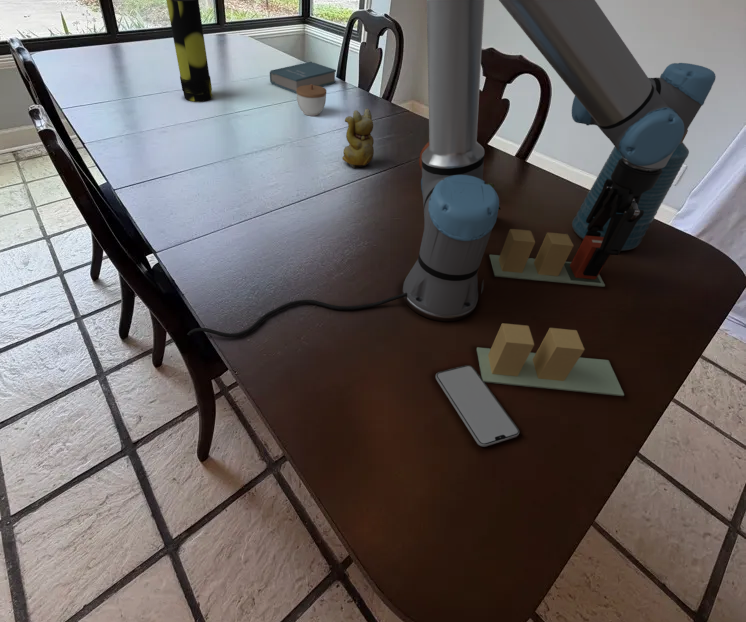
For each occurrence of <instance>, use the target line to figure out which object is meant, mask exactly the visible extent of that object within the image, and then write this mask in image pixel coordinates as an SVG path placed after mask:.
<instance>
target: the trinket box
mask: <svg viewBox="0 0 746 622" xmlns="http://www.w3.org/2000/svg"><path fill="white" fill-rule="evenodd" d="M296 92H297V94H296V101H297V102H296V103H297V105H298V107H299V110H300V111H301V112H302V113H303V114H304V115H305V116H310V117H315V116H320V114H321V112H322V111H323V110H324V109H325V106H326V101H327V89H326V88H325V87H324V86H323V87H320V86H316V85H313V84H310V85H304V86H300V87H298V88H297V89H296Z"/></svg>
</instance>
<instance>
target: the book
mask: <svg viewBox="0 0 746 622" xmlns="http://www.w3.org/2000/svg"><path fill="white" fill-rule="evenodd" d="M336 72H337V69H335V68H331V67H328V66H326V65H322V64H319V63H316V62H313V61H307V62H304V63H298V64H294V65H289V66H285V67H281V68H277V69H271V70H270V71H269V82H270V84H271V85H274V86H275V87H278V88H280V89H284V90H286V91H289V92H290V93H294V94H296V95H297V92H296V89H297V88H298V87H300V86H304V85H310V84H313V85H316V86H320V87H323V88H324V87H327V86H330V85H335V84H336V83H337V82H336V78H335V77H336Z"/></svg>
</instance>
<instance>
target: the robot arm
mask: <svg viewBox="0 0 746 622" xmlns="http://www.w3.org/2000/svg"><path fill="white" fill-rule="evenodd" d="M498 1H499V3H500V4H501V5H502V6H503V8H504V9H505V10H506V12H508V13H509V15H510V16H511V18H512V19H513V20H514V22H516V24H517V25H518V26H519V28H520V29H521V30H522V31H523V33H524V34H525V35H526V37H527V38H528V39H529V40H530V41H531V43H532V44H533V45H534V46H535V47H536V49H537V50H538V52H540V54H541V55H542V56H543V57H544V59H545V60H546V62H548V64H549V65H550V66H551V67H552V69H553V70H554V71H555V72H556V74H557V75H558V76H559V77H560V79H561V80H562V81H563V82H564V84H565V85H566V86H567V87H568V89H569V90H570V91H571V92H572V94H573V95H574V97H573V100H572V105H571V117H572V118H571V119H572V120H573V121H574V122H575V123H576V124H582V125H586V126H597V127H598V128H599V130H600V131H601V132H602V133H603V134H604V136H605V137H606V138H607V139H608V140H609V141H610V142H611V144H612V145H613V146H614V147H616V148H617V150H618V151H619V153H620V154H621V156H622V158H621V159H620V160H619V161H618V163H617V165H616V167H615V169H614V171H613V173H612V175H611V179H606V181H605V183H604V186H603V189H602V191H601V193H600V195H599V197H598V199H597V201H596V202H595V204H594V206H593V208H592V210H591V212H590V214H589V215H588V217H587V219H586V223H589V225H588V227H587V230H588V231H587V233H586V235H587V236H598V237H600V235H601V233H600V232H597V231H604V229H603V226H604V225H605V224H606V223H607V221H608V220H609V219H610V218H611V219H610V222H609V225H608V228H607V230H606V233H605V236H604V238H603V241H602V244H601V246H600V248H597V247H596V250H595V252H594V254H593V256H592V258H591V260H590V261H589V263H588V265H587V267H586V269H585V270H584V272H583V274H584V275H587V276H597V275H598V273H599V271H600V270H601V271H602V269H603V268H602V266H603V265H604V266H605V265H606V263H607V261H608V259H609V258H608V257H610V256H612V255H613V256H619V255H620V253H621V252H622V251H621V249H622V248H623V246H624V244H625V242H626V240H627V239H628V237H629V235H630V233H631V232H632V230H633V228H634V226H635V224H636V223H637V221H638V220H639V219H640V218H641V217H642V216H643V214H644V210H639V209H638V203H639V201H640V198H641V195H642V193H644V192H646V191H648V190H650V189H652V188H653V187H654V185H655V183H656V182H657V180H658V178H659V177H660V175H661V173H662V168H663V167H665V166H666V164H667V162H668V161H669V159H670V157H671V156H672V154H673V152H674V151H675V150H676V148H677V147H678V145H679V144H680V142H681V140H682V138H683V136H684V134H685V132H686V131H687V129H689V128H690V126H691V124H692V122H693V121H694V120H695V117H696V116H697V114H698V113H699V112H700V110H701V108H702V106H704V105H705V101H706V100H707V97H708V96H709V93H710V92H711V90H712V88H713V86H714V83H715V81H716V76H717V75H716V73H715V72H714V71H713V70H712V69H711V68H708V67H707V66H703V65H699V64H693V63H687V62H673V63H670V64H667V66H666V67H665V69H664V70H663V72H662V73H661V74H660V76H659V77H648V75H647V74H646V72H645V71H644V69H643V68H642V66H641V65H640V64H639V62H638V60H637V59H636V58H635V56H634V54H632V52H631V50H630V49H629V48H628V46H627V45H626V43H625V42H624V40H623V39H622V37H621V36H620V34H619V33H618V31H617V30H616V29H615V27H614V26H613V25H612V22H611V21H610V20H609V19H608V17H607V15H606V14H605V12H604V11H603V10H602V8H601V7H600V5H599V4H598V2H597V1H596V0H498ZM484 12H485V0H426V33H427V34H426V37H427V38H426V39H427V84H428V86H427V89H428V93H427V94H428V96H427V97H428V142H429V146H428V148H427V149H426V150H425V151H424V152H423V153H422V171H421V179H420V189H421V194H422V203H423V204H422V205H423V214H424V215H423V217H424V218H423V219H424V226H423V234H422V237H421V243H420V247H419V253H418V257H417V259H416V261H415V263H414V264H413V266H412V267H411V269H410V271H409V272H408V274H407V275H406V277H405V279H404V281H403V284H402V290H401V293H400V294H396V295H394V296H390V297H388V298H385V299H382V300H380V301H376V302H371V303H367V304H361V305H360V304H359V305H348V306H347V305H346V306H345V305H335V304H329V303H326V302H323V301H319V300H314V299H313V300H312V299H300V300H294V301H290V302H287V303H285V304H282V305H280V306H278V307H276V308H274V309H272V310H270V311H268V312H267V313H264V315H262V316H261V317H260V318H259V319H257V321H256V322H254V323H253V324H252V325H251V326H250V327H248V328H246V329H244V330H242V331H239V332H235V333H234V332H233V333H230V332H223V331H220V330H215V329H212V328H208V327H195V328H192V329H191V330H189V331H188V332H187V334H186V335H187V336H192V335H194V334H196V333H199V332H201V333H209V334H211V335H216V336H218V337H223V338H239V337H243V336H245V335H247V334H249V333H251V332H253V331H254V330H255V329H256V328H258V327H259V325H261V323H263V322H264V321H265V320H267V318H269V317H270V316H272V315H274V314H277V313H279V312H281V311H282V310H284V309H287V308H289V307H291V306H292V307H293V306H297V305H303V304H312V305H317V306H321V307H324V308H328V309H332V310H337V311H338V310H339V311H354V310H355V311H356V310H363V309H369V308H374V307H379V306H381V305H384V304H387V303H390V302H393V301H396V300H399V299H403V301H404V303H405V304H406V305H407V306H408V307H409V308H410V309H411V310H412V311H413V312H414V313H416V314H418V315H419V316H422V317H423V318H427V319H429V320H433V321H439V322H455V321H461V320H463V319H466V318H468V317H469V316H471V314H473V313H474V311H475V309H476V307H477V304H478V302H479V301H478V300H479V281H478V280H479V279H478V272H479V269H480V266H481V263H482V260H483V257H484V254H485V252H486V249H487V246H488V243H489V240H490V237H491V234H492V232H493V231H492V230H493V228H494V227H495V224H496V222H497V218H498V215H499V210H500V209H499V207H500V198H499V195H498V193H497V191H496V190H495V187H494V188H493V187H492V186H491V185H487V184H488V183H486V181H485V180H483V179H484V167H485V165H484V164H485V148H484V147H483V146H482V145H481V144H480V143H479V142H478V141H477V139H478V122H479V106H480V105H479V102H480V86H481V68H482V52H483V51H482V49H483V34H484V32H483V31H484V30H483V29H484V16H485V15H484V14H485V13H484ZM616 213H624V214H616ZM593 217H594V218H593ZM586 235H585V236H586ZM577 251H578V249H577V250H576V252H575V254H574V256H575V255H576V253H577ZM609 255H610V256H609ZM606 260H607V261H606ZM605 262H606V263H605ZM604 266H603V267H604ZM601 268H602V269H601ZM601 271H600V272H601ZM599 274H600V273H599ZM480 288H481V290H480V294H482V293H483V291H484V279H483V280H482V282H481V287H480Z"/></svg>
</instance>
